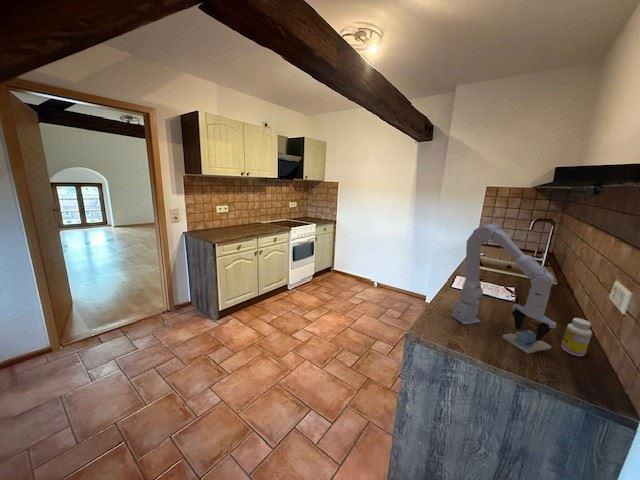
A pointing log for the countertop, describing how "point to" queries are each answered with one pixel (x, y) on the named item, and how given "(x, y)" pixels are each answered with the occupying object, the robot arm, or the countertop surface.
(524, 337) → the block
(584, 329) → the supplement bottle
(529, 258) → the robot arm
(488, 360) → the countertop surface
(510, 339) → the plate
